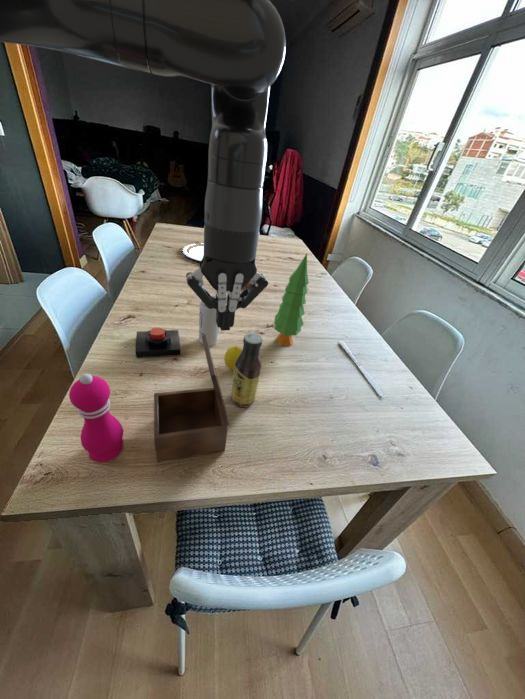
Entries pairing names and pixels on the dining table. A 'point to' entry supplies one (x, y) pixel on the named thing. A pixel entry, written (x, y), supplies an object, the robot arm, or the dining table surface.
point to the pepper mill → (97, 418)
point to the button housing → (157, 344)
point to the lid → (215, 380)
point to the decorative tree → (292, 305)
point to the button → (157, 333)
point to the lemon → (232, 356)
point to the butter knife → (362, 369)
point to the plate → (194, 252)
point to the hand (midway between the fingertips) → (224, 327)
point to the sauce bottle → (247, 371)
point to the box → (188, 424)
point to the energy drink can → (208, 324)
